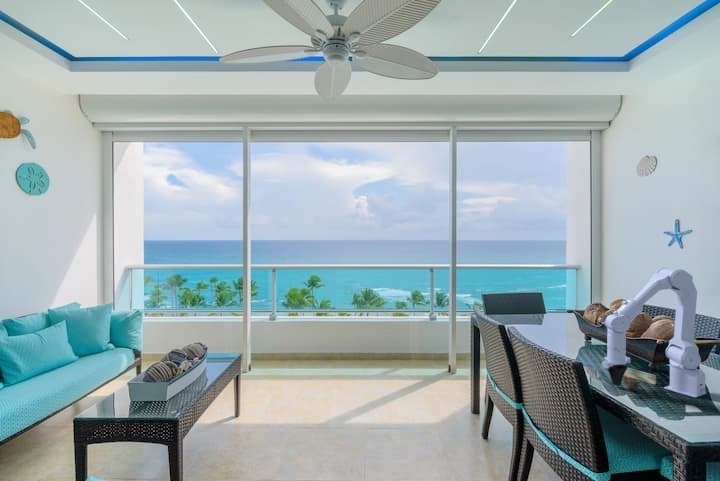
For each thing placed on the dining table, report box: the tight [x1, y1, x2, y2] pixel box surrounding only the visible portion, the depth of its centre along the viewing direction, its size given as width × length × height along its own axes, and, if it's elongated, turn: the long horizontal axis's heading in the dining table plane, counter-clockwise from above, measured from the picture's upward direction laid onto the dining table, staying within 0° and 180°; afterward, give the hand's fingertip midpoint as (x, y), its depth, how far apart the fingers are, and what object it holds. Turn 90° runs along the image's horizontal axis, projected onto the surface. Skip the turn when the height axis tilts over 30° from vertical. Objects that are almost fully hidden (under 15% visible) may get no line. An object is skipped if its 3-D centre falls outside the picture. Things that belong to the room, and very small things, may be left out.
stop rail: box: [623, 367, 657, 385], centre depth 153 cm, size 12×1×3 cm, turn 28°
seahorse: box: [622, 375, 650, 395], centre depth 147 cm, size 6×15×2 cm, turn 161°
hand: (616, 384), depth 145 cm, fingers closed
